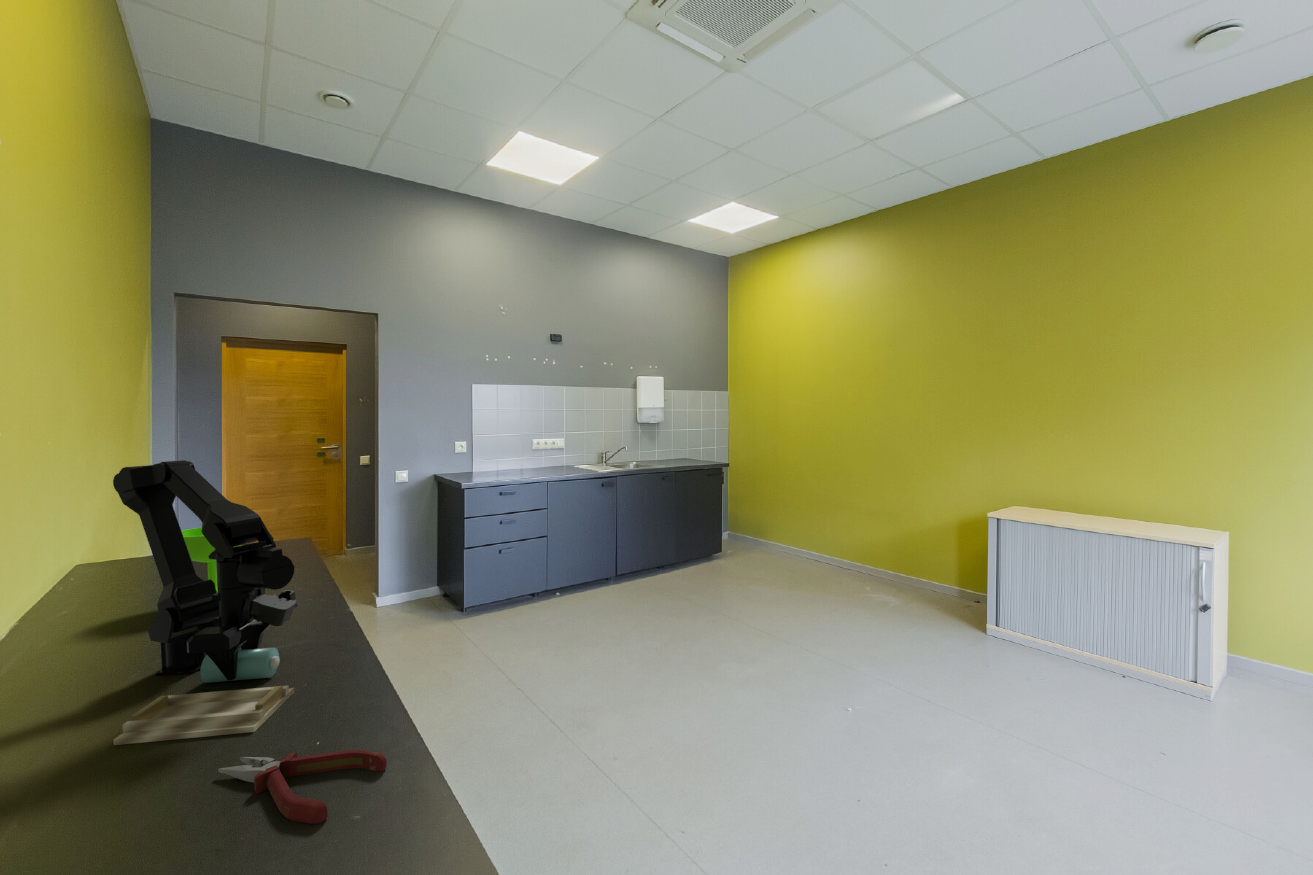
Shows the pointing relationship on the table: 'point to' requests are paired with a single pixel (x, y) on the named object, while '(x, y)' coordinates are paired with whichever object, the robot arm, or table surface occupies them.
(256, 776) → the pliers
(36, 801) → the table surface
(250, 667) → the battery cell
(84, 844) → the table surface
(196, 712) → the wooden tray
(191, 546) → the green tapered container
